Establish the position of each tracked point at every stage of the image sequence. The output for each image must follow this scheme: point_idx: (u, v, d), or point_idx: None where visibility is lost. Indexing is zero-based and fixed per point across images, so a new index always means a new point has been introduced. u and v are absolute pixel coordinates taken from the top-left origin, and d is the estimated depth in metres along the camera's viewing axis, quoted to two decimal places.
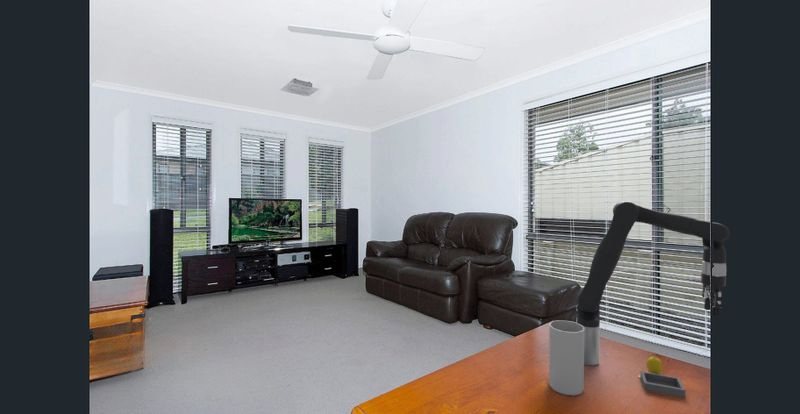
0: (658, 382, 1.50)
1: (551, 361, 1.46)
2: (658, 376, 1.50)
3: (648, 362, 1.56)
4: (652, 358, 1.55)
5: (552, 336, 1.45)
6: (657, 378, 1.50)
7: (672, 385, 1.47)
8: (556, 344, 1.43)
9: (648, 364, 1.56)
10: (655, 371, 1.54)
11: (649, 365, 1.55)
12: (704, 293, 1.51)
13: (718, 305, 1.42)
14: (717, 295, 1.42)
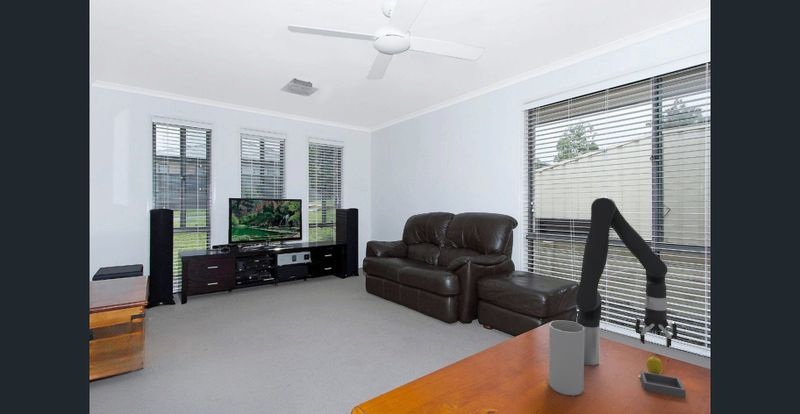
0: (658, 382, 1.50)
1: (551, 361, 1.46)
2: (658, 376, 1.50)
3: (648, 362, 1.56)
4: (652, 358, 1.55)
5: (552, 336, 1.45)
6: (657, 378, 1.50)
7: (672, 385, 1.47)
8: (556, 344, 1.43)
9: (648, 364, 1.56)
10: (655, 371, 1.54)
11: (649, 365, 1.55)
12: (647, 329, 1.55)
13: None
14: None
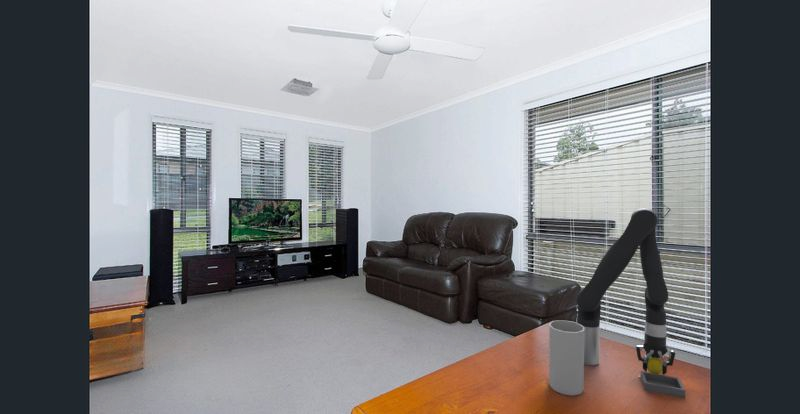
0: (658, 382, 1.50)
1: (551, 361, 1.46)
2: (658, 376, 1.50)
3: (648, 362, 1.56)
4: (652, 358, 1.55)
5: (552, 336, 1.45)
6: (657, 378, 1.50)
7: (672, 385, 1.47)
8: (556, 344, 1.43)
9: (648, 364, 1.56)
10: (655, 371, 1.54)
11: (649, 365, 1.55)
12: (648, 356, 1.55)
13: None
14: None
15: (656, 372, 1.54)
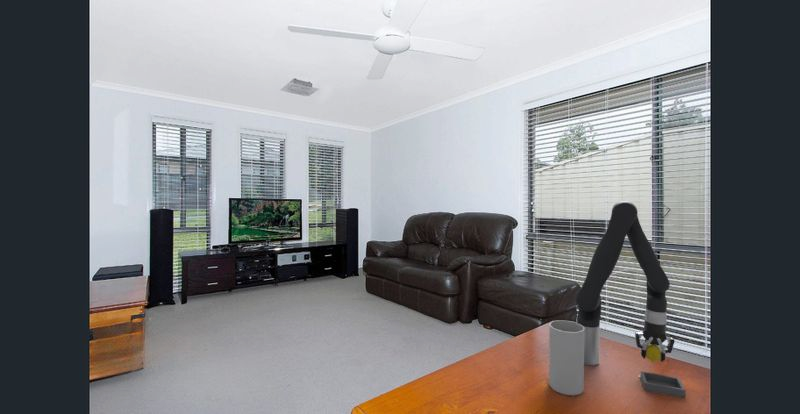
0: (658, 382, 1.50)
1: (551, 361, 1.46)
2: (658, 376, 1.50)
3: (647, 349, 1.56)
4: (651, 345, 1.56)
5: (552, 336, 1.45)
6: (657, 378, 1.50)
7: (672, 385, 1.47)
8: (556, 344, 1.43)
9: (647, 351, 1.56)
10: (654, 358, 1.54)
11: (648, 352, 1.55)
12: (647, 343, 1.55)
13: None
14: None
15: (654, 359, 1.54)
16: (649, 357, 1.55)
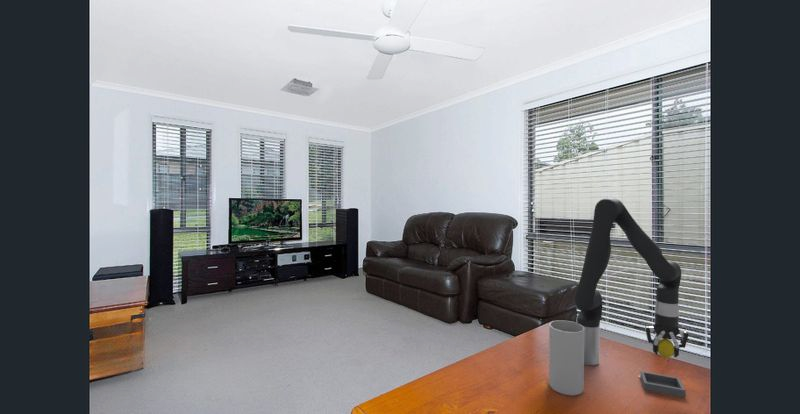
0: (658, 382, 1.50)
1: (551, 361, 1.46)
2: (658, 376, 1.50)
3: (659, 344, 1.45)
4: (663, 340, 1.45)
5: (552, 336, 1.45)
6: (657, 378, 1.50)
7: (672, 385, 1.47)
8: (556, 344, 1.43)
9: (659, 346, 1.45)
10: (666, 353, 1.43)
11: (660, 347, 1.44)
12: (658, 337, 1.45)
13: None
14: None
15: (667, 355, 1.43)
16: (661, 352, 1.44)
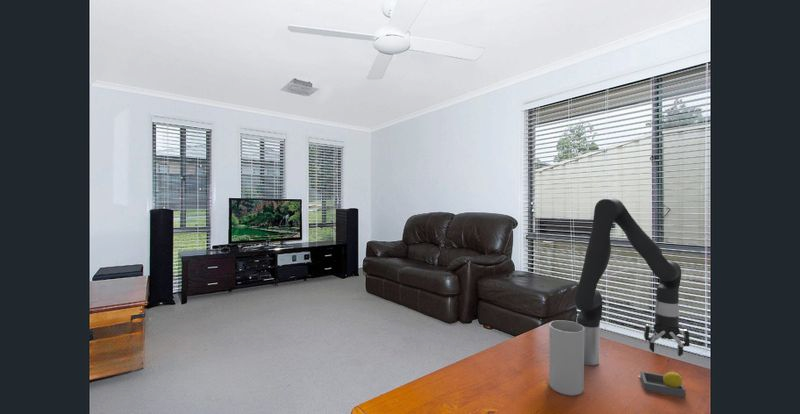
0: (658, 382, 1.50)
1: (551, 361, 1.46)
2: (658, 376, 1.50)
3: (667, 376, 1.43)
4: (674, 376, 1.41)
5: (552, 336, 1.45)
6: (657, 378, 1.50)
7: None
8: (556, 344, 1.43)
9: (666, 378, 1.43)
10: None
11: (666, 379, 1.43)
12: (657, 336, 1.45)
13: None
14: None
15: None
16: (665, 383, 1.44)
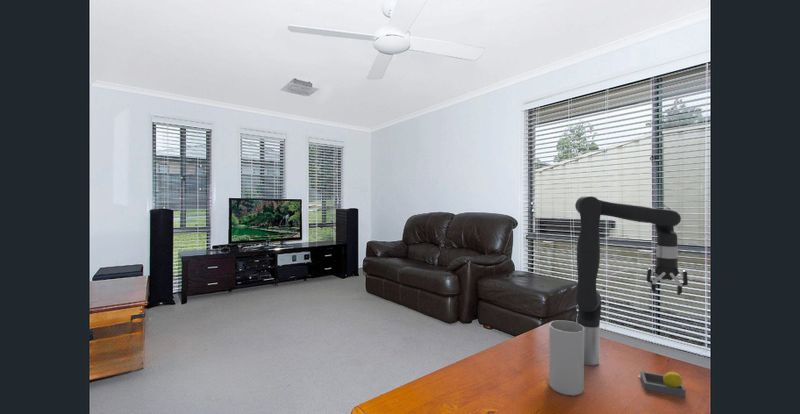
0: (658, 382, 1.50)
1: (551, 361, 1.46)
2: (658, 376, 1.50)
3: (667, 376, 1.43)
4: (674, 376, 1.41)
5: (552, 336, 1.45)
6: (657, 378, 1.50)
7: None
8: (556, 344, 1.43)
9: (666, 378, 1.43)
10: None
11: (666, 379, 1.43)
12: (658, 277, 1.59)
13: None
14: None
15: None
16: (665, 383, 1.44)
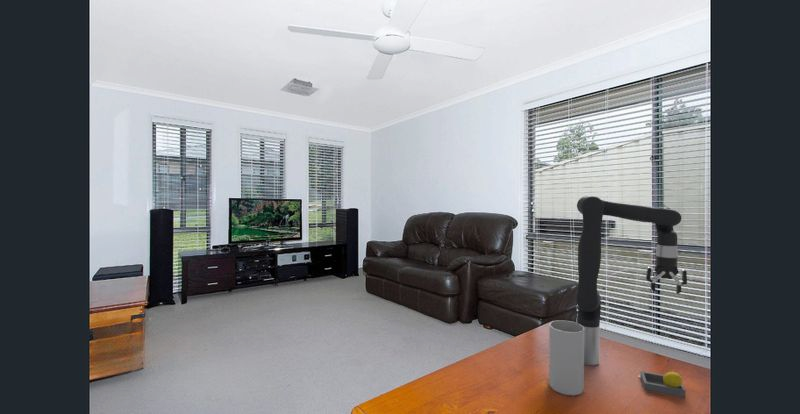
0: (658, 382, 1.50)
1: (551, 361, 1.46)
2: (658, 376, 1.50)
3: (667, 376, 1.43)
4: (674, 376, 1.41)
5: (552, 336, 1.45)
6: (657, 378, 1.50)
7: None
8: (556, 344, 1.43)
9: (666, 378, 1.43)
10: None
11: (666, 379, 1.43)
12: (658, 276, 1.61)
13: None
14: None
15: None
16: (665, 383, 1.44)
